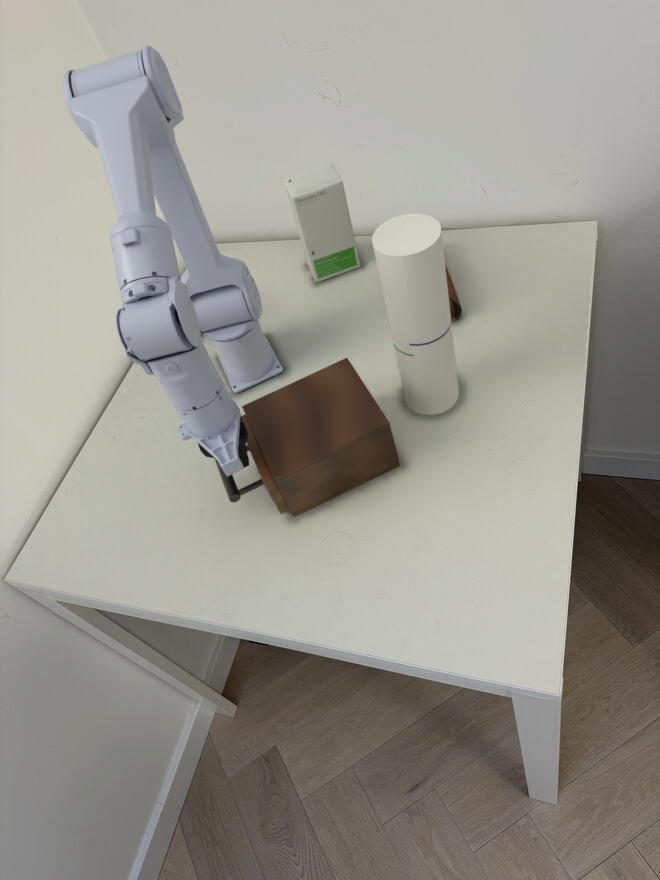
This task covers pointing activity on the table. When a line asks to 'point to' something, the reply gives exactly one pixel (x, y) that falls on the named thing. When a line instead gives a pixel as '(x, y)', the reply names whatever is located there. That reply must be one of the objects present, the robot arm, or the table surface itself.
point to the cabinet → (322, 436)
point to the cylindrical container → (418, 309)
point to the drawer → (263, 471)
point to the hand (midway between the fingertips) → (240, 464)
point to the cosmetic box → (323, 222)
